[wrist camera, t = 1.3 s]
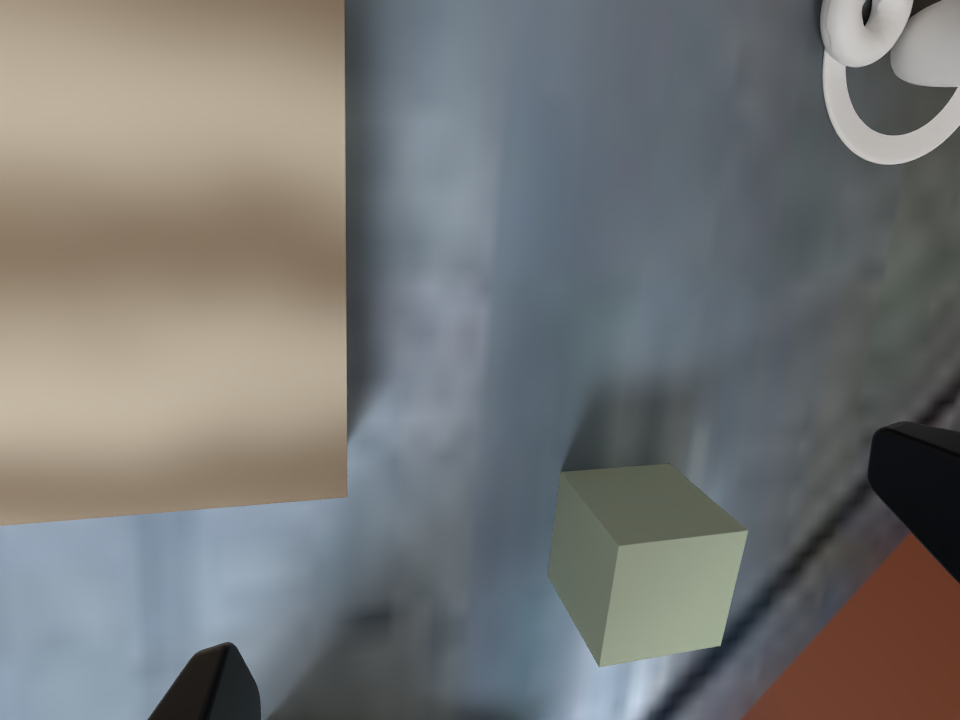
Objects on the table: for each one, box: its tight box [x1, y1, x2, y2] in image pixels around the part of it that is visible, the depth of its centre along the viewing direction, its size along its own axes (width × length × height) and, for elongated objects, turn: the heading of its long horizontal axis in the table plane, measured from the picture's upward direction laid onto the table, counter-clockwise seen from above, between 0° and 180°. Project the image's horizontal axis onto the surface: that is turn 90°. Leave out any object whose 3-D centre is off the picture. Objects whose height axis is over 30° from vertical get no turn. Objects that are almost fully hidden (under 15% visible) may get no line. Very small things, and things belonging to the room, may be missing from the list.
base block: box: [0, 0, 347, 526], centre depth 15 cm, size 14×14×3 cm
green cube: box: [548, 463, 748, 667], centre depth 22 cm, size 5×5×5 cm
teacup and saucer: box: [820, 0, 960, 165], centre depth 20 cm, size 9×8×4 cm
